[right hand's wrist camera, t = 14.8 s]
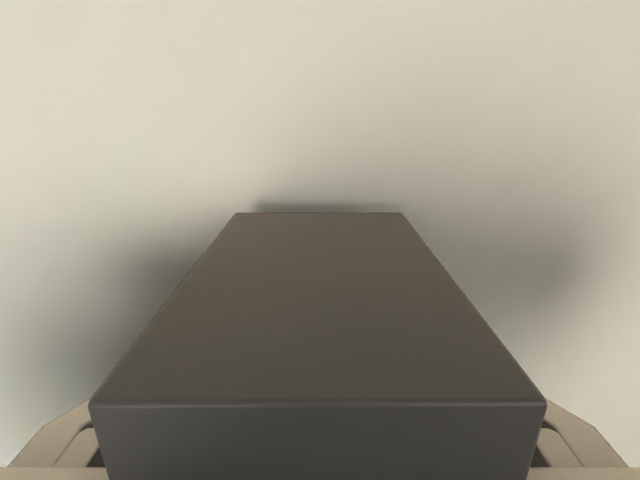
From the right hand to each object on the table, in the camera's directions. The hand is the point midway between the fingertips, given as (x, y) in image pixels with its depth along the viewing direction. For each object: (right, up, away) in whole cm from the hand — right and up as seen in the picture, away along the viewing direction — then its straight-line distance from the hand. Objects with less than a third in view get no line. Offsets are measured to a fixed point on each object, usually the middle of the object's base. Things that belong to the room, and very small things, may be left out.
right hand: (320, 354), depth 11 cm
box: (0, -7, +6) cm, 9 cm away
